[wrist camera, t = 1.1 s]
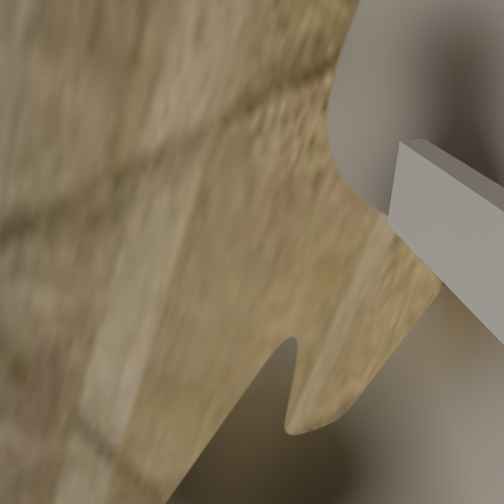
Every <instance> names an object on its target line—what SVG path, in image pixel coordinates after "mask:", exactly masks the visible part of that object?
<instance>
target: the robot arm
mask: <svg viewBox="0 0 504 504" xmlns="http://www.w3.org/2000/svg"><path fill="white" fill-rule="evenodd" d="M387 224H388V225H389V226H390V227H391V228H392V229H393V231H394V232H395V233H396V234H397V235H398V236H399V237H400V238H401V239H402V240H403V241H404V242H405V243H406V244H407V245H408V246H409V247H410V248H411V249H412V250H413V251H414V252H415V253H416V254H417V255H418V256H419V257H420V258H421V259H422V261H423V262H424V263H425V264H426V265H427V266H428V267H429V268H430V269H431V270H432V271H433V272H434V273H435V274H436V275H437V276H438V277H439V278H440V279H441V280H442V281H443V282H444V283H445V284H446V285H447V286H448V287H449V288H450V290H451V291H452V292H454V294H455V295H456V296H457V297H458V298H459V299H460V300H461V301H462V302H463V303H464V304H465V305H466V306H467V307H468V308H469V309H470V310H471V311H472V312H473V313H474V314H475V315H476V316H477V317H478V319H480V321H481V322H482V323H483V324H484V325H485V326H486V327H487V328H488V329H489V330H490V331H491V332H492V333H493V334H494V335H495V336H496V337H497V338H498V339H499V340H500V341H501V342H502V343H503V344H504V188H503V187H501V186H500V185H498V184H496V183H495V182H493V181H492V180H490V179H488V178H487V177H485V176H483V175H482V174H480V173H479V172H477V171H475V170H473V169H472V168H470V167H469V166H467V165H466V164H464V163H462V162H461V161H459V160H457V159H456V158H454V157H453V156H451V155H449V154H448V153H446V152H444V151H443V150H441V149H440V148H438V147H436V146H435V145H433V144H431V143H430V142H428V141H427V140H425V139H417V140H407V141H400V144H399V150H398V157H397V164H396V170H395V176H394V183H393V190H392V196H391V203H390V210H389V216H388V222H387Z"/></svg>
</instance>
